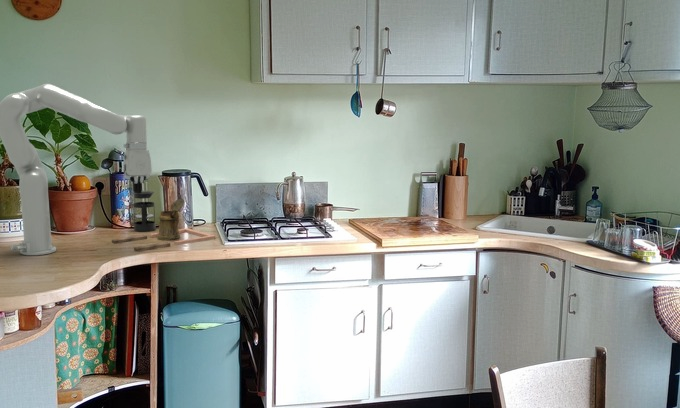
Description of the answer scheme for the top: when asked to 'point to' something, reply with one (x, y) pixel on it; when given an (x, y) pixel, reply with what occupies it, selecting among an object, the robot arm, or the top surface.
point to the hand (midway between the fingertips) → (137, 193)
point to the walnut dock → (141, 248)
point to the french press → (143, 212)
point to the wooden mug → (170, 222)
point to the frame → (202, 238)
